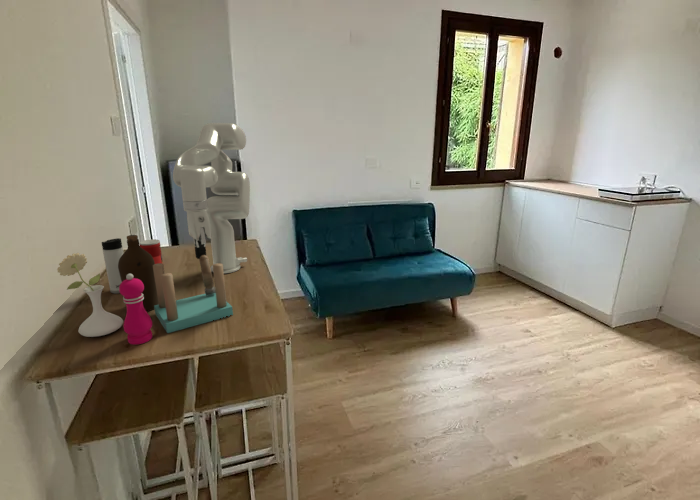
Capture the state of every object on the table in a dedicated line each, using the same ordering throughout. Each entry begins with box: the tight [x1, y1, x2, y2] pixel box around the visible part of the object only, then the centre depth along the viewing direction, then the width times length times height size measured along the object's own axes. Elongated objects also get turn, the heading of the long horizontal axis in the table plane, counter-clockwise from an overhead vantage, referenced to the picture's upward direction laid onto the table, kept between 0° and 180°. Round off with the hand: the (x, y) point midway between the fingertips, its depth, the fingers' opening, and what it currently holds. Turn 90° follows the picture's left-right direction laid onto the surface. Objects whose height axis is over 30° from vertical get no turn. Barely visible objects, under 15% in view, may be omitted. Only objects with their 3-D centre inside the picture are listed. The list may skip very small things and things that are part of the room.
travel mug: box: [101, 237, 125, 294], centre depth 144 cm, size 6×7×20 cm
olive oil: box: [118, 234, 159, 313], centre depth 129 cm, size 11×11×25 cm
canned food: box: [139, 238, 164, 264], centre depth 172 cm, size 8×8×11 cm
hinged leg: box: [198, 254, 216, 295], centre depth 134 cm, size 3×3×14 cm
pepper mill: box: [119, 274, 153, 346], centre depth 109 cm, size 7×7×20 cm
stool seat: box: [153, 263, 234, 334], centre depth 125 cm, size 20×16×17 cm
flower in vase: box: [56, 252, 124, 338], centre depth 113 cm, size 13×11×25 cm
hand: (201, 257), depth 136 cm, fingers closed
